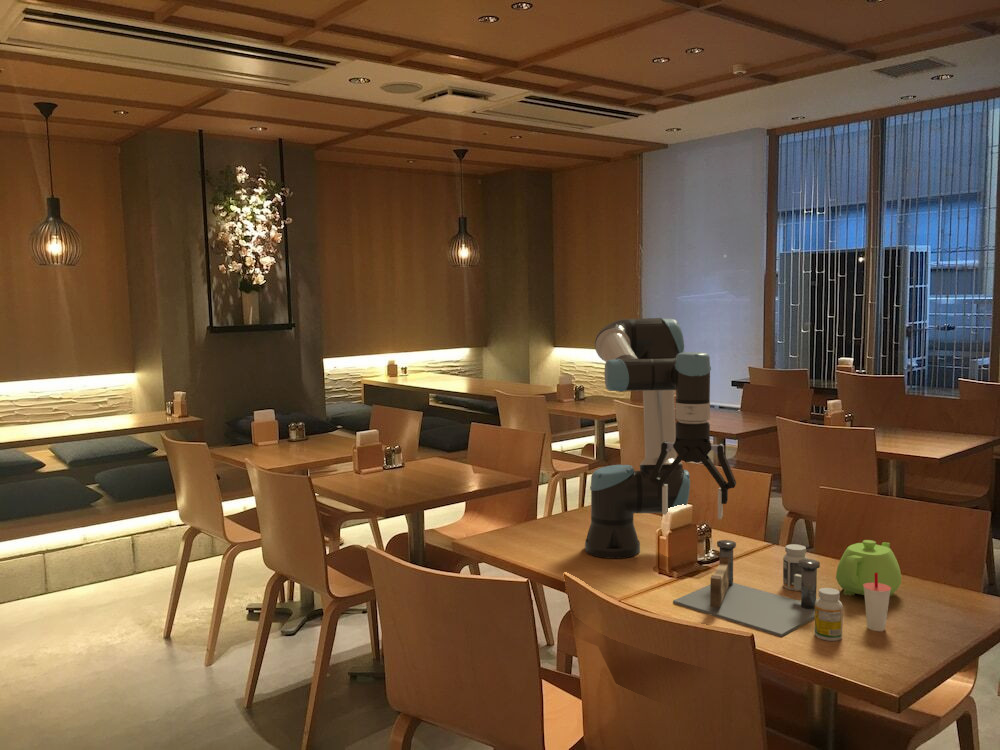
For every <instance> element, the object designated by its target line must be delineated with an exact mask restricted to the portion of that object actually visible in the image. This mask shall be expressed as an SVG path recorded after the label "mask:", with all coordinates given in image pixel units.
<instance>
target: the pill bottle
mask: <svg viewBox="0 0 1000 750" xmlns="http://www.w3.org/2000/svg"><path fill="white" fill-rule="evenodd" d="M784 551H785V552H786V554H784V556H783V557H782V561H783V562H782V564H783V565H782V566H783V567H782V570H783V571H782V576H783V577H782V584H783V585H782V586H783V587H784V588H786V589H787V590H791V591H797V592H799V591H800V592H801V590H800V589H796V588H794V575H795V574H799V575H801V567H800V566H799V560H801V559H809V558H808V557H807V556H806V553H807V548H806V546H804V545H801V544H796V543H795V544H794V543H793V544H791V543H790V544H787V545H786V546H785V550H784Z"/></svg>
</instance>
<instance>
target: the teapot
mask: <svg viewBox="0 0 1000 750" xmlns="http://www.w3.org/2000/svg"><path fill="white" fill-rule="evenodd" d="M890 545H891V542H887V541H885V542H882V543H881V545H880V544H877V541H875V540H872V539H871V540H870V539H864V540H862V542H857V543H853V544H851V545H848V547H847V548H846V549H845V550H844V552H843V554H842V556H841V558H840V560H839V562H838V565H837V569H836V575H835V579H836V581H837V583H838V585H839V587H840V588H841V589H842V590H844V591H843V593H844V594H843V593H842V594H843V595H845V594H846V595H845V596H849V595H852V596H855V595H856V594H858V595H862V596H865V595H864V586H863V584H865V583H875V573H878V583H881V584H885V585H888V586H890V587H891V590H890V597H892V596H893V595H894V593H895V592H897V590H898V589H899V587H900V586H901V584H902V573H901V569H900V565H899V563H898V560H897V557H896V556H895V553H894V552H893V550H892V548H891V546H890Z"/></svg>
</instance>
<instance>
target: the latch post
mask: <svg viewBox="0 0 1000 750" xmlns="http://www.w3.org/2000/svg"><path fill="white" fill-rule="evenodd" d="M820 563H821V562H820V561H819V560H816V559H811V558H808V559H801V560H799V566H800V567H801V575H799V574H795V575H794V588H796V589H800V590H801V591H800V601H801V607H802V608H805V609H815V601H816V600H817V583H818V581H817V580H818V579H817V576H818V569H819V568H821V564H820Z"/></svg>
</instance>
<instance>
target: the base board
mask: <svg viewBox="0 0 1000 750" xmlns="http://www.w3.org/2000/svg"><path fill="white" fill-rule="evenodd" d="M672 604H674V605H675V604H676V605H678V606H680V607H684V608H688V609H690V610H693V611H694V610H695V611H697V612H700V613H703V614H707V615H711V616H713V617H717V618H719V619H723V620H726V621H730V622H732V623H735V624H739V625H741V626H745V627H749V628H752V629H755V630H759V631H761V632H764V633H768V634H771V635H774V636H778V637H780V638H781V637H784V636H786V635H788V634H789V633H792V632H793V631H795V630H796V629H797V630H798V628H800V627H802V626H803V625H805V624H807V623H809V622H811V621H813V620H815V609H805V608H802V607H801V600H799V599H795V598H791V597H787V596H784V595H780V594H776V593H773V592H769V591H765V590H761V589H757V588H754V587H750V586H747V585H743V584H740V583H735V582H733V585H732V586H728V588H727V591H726V593H725V596H724V598H723V601H722V603H721V605H720V608H718V607H710V584H708V585H706V586H704V587H701V588H699V589H697V590H694V591H692V592H690V593H688V594H685V595H682V596H680V597H678V598H676V599H674V600H672Z"/></svg>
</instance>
